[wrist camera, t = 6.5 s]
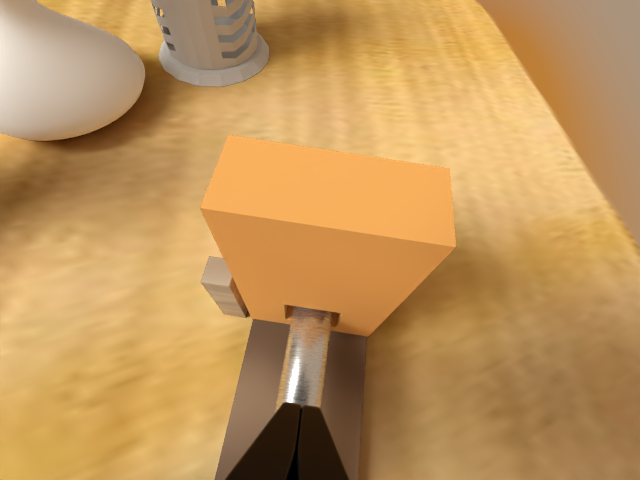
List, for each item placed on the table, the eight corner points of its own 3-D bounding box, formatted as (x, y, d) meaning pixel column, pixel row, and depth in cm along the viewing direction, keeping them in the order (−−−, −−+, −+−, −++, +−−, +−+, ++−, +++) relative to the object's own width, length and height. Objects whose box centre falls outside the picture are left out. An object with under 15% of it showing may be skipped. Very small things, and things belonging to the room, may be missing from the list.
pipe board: (349, 538, 13) (376, 601, 9) (168, 510, 13) (106, 558, 9) (368, 259, 20) (389, 216, 15) (245, 240, 20) (231, 191, 15)
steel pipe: (305, 537, 11) (307, 558, 10) (253, 528, 11) (246, 548, 10) (340, 242, 17) (345, 224, 16) (306, 237, 17) (307, 218, 16)
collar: (368, 336, 16) (455, 247, 7) (251, 318, 16) (200, 208, 7) (371, 291, 17) (449, 168, 8) (262, 275, 17) (228, 134, 8)
